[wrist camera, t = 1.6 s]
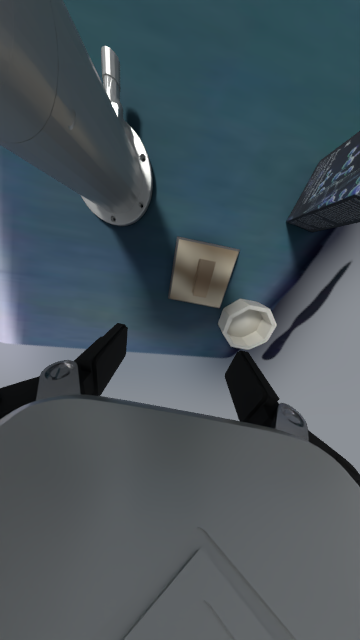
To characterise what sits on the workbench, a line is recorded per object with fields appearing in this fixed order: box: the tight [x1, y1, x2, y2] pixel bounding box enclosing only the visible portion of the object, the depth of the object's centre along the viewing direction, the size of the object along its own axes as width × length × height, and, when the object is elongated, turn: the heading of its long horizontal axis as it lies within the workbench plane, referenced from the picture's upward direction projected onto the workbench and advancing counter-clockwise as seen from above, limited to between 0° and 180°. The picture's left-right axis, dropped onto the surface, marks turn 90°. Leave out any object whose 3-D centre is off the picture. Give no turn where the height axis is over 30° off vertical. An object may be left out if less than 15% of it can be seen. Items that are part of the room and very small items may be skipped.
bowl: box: [218, 299, 277, 350], centre depth 28 cm, size 10×10×4 cm
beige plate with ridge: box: [170, 239, 238, 308], centre depth 24 cm, size 11×11×5 cm
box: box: [287, 131, 360, 232], centre depth 16 cm, size 8×6×11 cm
